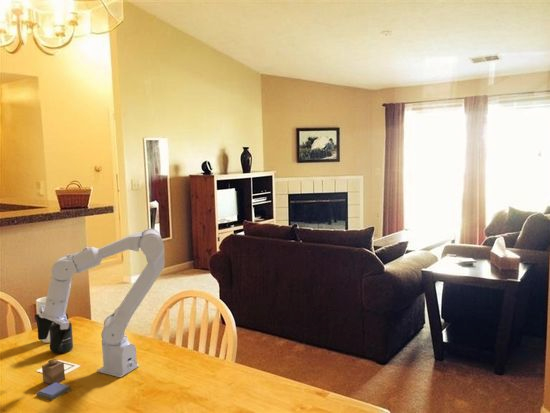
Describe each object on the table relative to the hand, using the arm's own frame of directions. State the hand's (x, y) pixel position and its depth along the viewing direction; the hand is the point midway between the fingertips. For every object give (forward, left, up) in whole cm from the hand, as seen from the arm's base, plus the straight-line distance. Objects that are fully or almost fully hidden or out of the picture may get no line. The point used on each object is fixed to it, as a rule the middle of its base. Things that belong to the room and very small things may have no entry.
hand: (47, 344), depth 134 cm
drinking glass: (+24, -19, -11) cm, 33 cm away
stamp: (-3, +1, -10) cm, 11 cm away
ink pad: (-8, +5, -10) cm, 14 cm away
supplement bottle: (+13, -15, -11) cm, 23 cm away
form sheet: (+3, -5, -10) cm, 12 cm away
